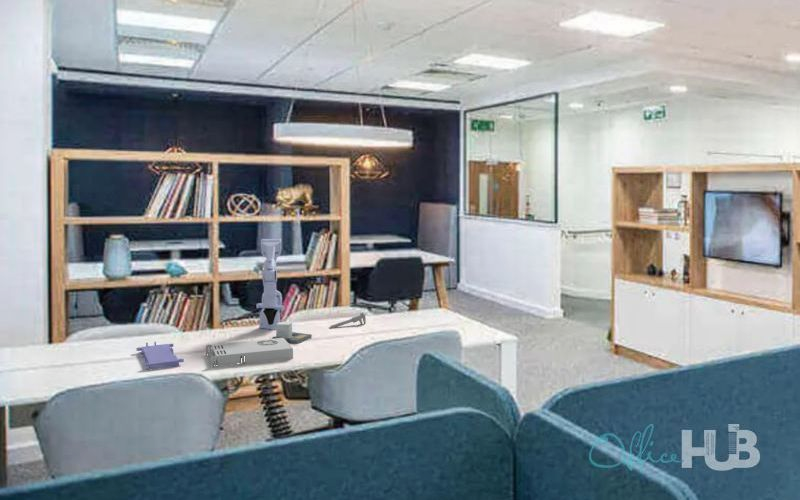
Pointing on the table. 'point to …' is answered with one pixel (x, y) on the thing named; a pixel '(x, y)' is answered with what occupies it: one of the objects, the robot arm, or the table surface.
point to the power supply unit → (249, 351)
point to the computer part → (159, 356)
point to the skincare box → (284, 329)
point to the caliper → (351, 320)
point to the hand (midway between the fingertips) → (270, 324)
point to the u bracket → (296, 337)
